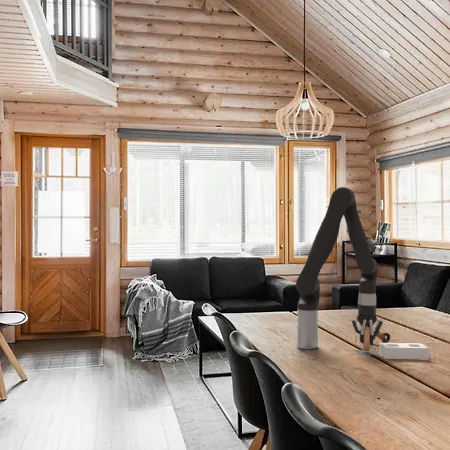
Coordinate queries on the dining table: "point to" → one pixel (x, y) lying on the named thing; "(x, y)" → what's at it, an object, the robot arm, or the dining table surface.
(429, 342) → the dining table surface
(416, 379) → the dining table surface
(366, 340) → the dowel
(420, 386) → the dining table surface
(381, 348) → the socket block
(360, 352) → the mat
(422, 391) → the dining table surface
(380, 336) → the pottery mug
